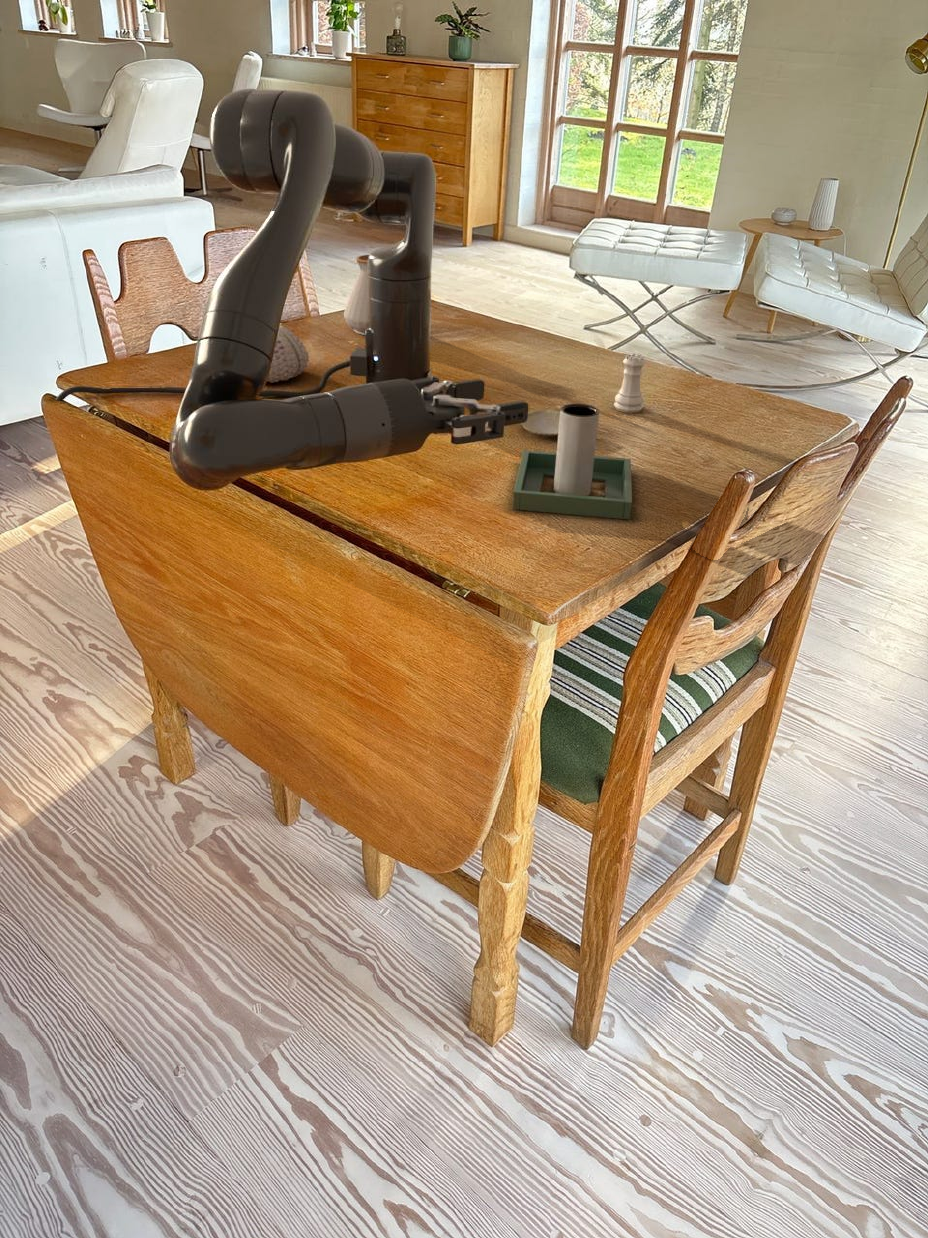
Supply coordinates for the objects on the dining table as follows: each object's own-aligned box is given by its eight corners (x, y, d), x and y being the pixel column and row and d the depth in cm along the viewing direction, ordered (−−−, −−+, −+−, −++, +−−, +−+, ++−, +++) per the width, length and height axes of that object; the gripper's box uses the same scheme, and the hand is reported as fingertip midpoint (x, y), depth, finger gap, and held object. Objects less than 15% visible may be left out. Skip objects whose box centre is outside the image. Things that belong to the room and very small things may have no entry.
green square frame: (512, 509, 111) (513, 492, 110) (522, 465, 123) (523, 449, 122) (629, 519, 110) (632, 502, 109) (628, 474, 122) (630, 458, 120)
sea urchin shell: (241, 392, 144) (236, 338, 140) (213, 368, 154) (208, 317, 150) (323, 381, 150) (320, 329, 146) (290, 358, 160) (287, 309, 156)
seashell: (514, 440, 136) (543, 445, 129) (509, 419, 135) (539, 423, 128) (562, 422, 139) (593, 427, 132) (558, 401, 137) (589, 405, 131)
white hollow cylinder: (550, 483, 118) (557, 403, 113) (586, 483, 119) (595, 403, 113) (556, 499, 114) (564, 416, 109) (593, 498, 115) (603, 416, 109)
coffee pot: (333, 326, 178) (330, 241, 171) (387, 320, 184) (386, 237, 176) (389, 356, 163) (389, 264, 156) (446, 347, 169) (448, 258, 161)
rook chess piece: (642, 414, 142) (649, 361, 137) (612, 411, 142) (618, 358, 138) (643, 405, 145) (650, 352, 141) (614, 402, 146) (620, 350, 142)
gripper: (405, 405, 90) (545, 383, 97) (339, 366, 100) (470, 348, 108) (405, 480, 94) (539, 453, 101) (341, 435, 104) (467, 413, 111)
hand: (503, 399), depth 104 cm, fingers open, 8 cm apart
